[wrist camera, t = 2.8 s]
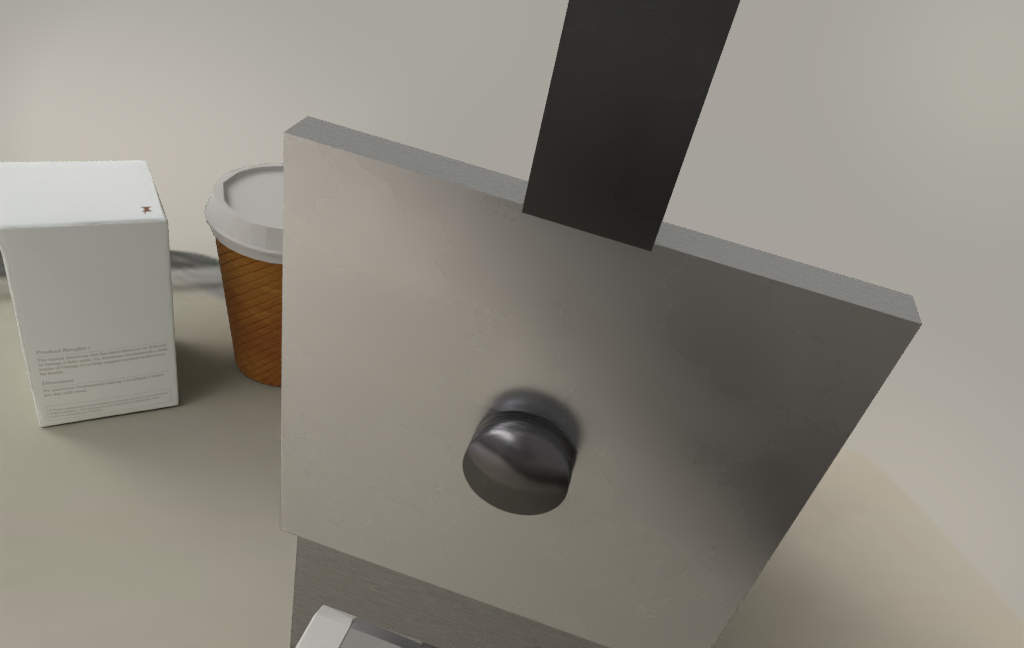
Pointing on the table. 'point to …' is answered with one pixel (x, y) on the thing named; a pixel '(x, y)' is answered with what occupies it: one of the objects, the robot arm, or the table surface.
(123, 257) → the supplement box
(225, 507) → the table surface
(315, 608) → the open gray square box
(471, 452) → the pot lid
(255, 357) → the disposable coffee cup
